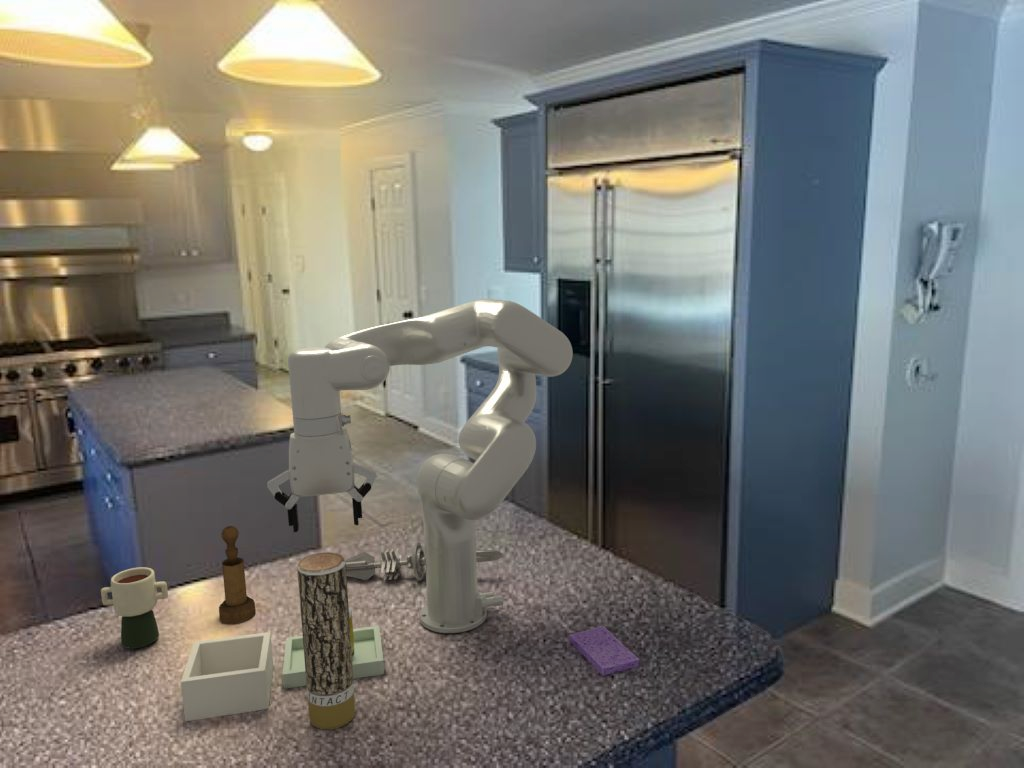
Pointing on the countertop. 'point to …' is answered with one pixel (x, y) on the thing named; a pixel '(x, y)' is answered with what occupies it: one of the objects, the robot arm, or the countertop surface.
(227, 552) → the mortar and pestle
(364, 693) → the countertop surface
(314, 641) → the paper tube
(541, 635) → the countertop surface
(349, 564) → the spaceship
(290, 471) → the robot arm
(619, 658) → the sponges
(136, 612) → the character mug
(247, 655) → the cream square frame
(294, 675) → the tray
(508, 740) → the countertop surface
